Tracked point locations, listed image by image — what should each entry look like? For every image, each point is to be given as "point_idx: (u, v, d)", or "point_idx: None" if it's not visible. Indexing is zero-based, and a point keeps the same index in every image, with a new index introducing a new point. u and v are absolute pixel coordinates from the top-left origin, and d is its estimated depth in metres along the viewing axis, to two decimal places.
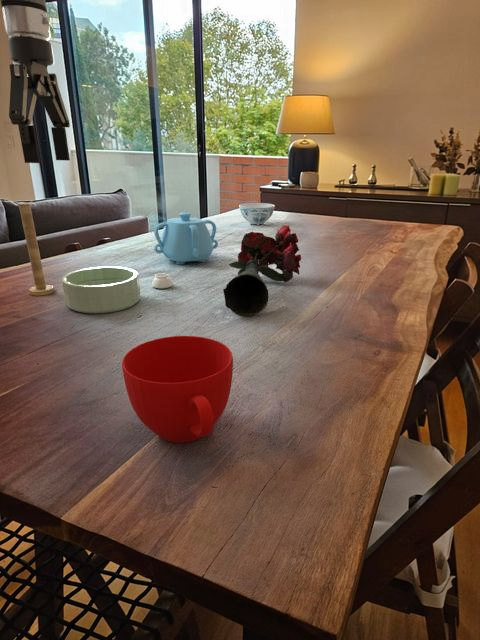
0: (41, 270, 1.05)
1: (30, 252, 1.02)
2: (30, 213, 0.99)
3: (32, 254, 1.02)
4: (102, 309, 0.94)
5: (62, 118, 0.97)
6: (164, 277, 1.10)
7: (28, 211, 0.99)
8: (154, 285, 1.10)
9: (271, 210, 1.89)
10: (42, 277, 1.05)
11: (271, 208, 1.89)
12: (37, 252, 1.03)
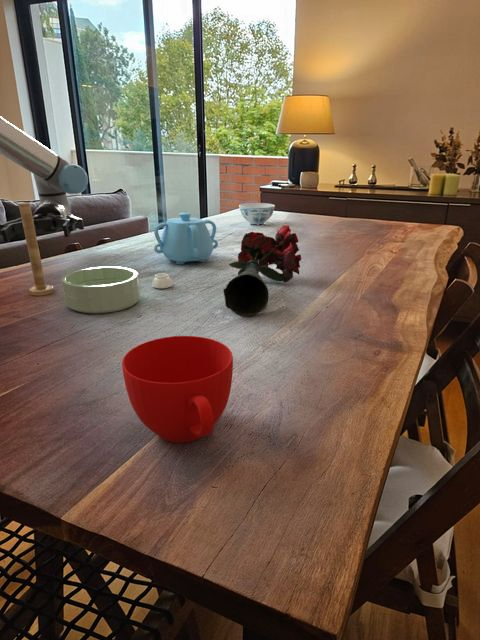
0: (41, 270, 1.05)
1: (30, 252, 1.02)
2: (30, 213, 0.99)
3: (32, 254, 1.02)
4: (102, 309, 0.94)
5: None
6: (164, 277, 1.10)
7: (28, 211, 0.99)
8: (154, 285, 1.10)
9: (271, 210, 1.89)
10: (42, 277, 1.05)
11: (271, 208, 1.89)
12: (37, 252, 1.03)
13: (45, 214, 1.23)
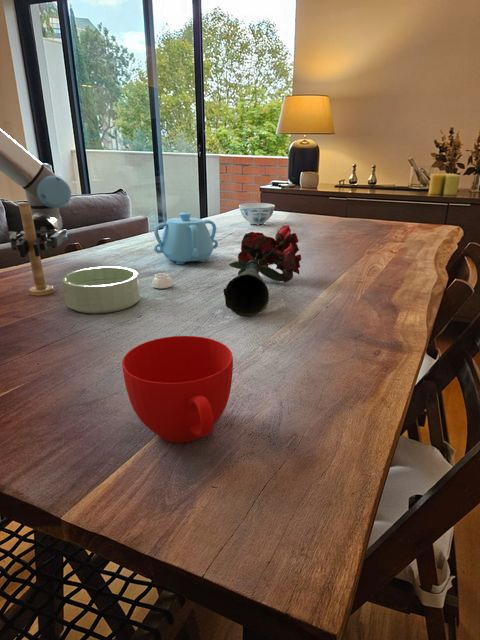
0: (41, 270, 1.05)
1: (30, 252, 1.02)
2: (30, 213, 0.99)
3: (32, 254, 1.02)
4: (102, 309, 0.94)
5: None
6: (164, 277, 1.10)
7: (28, 211, 0.99)
8: (154, 285, 1.10)
9: (271, 210, 1.89)
10: (42, 277, 1.05)
11: (271, 208, 1.89)
12: None
13: (37, 227, 1.14)
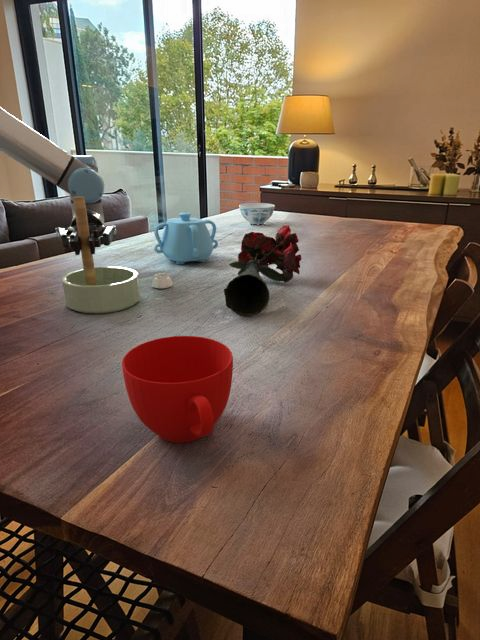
0: (93, 269, 0.97)
1: (83, 250, 0.95)
2: (84, 207, 0.92)
3: (85, 252, 0.95)
4: (102, 309, 0.94)
5: None
6: (164, 277, 1.10)
7: (83, 205, 0.91)
8: (154, 285, 1.10)
9: (271, 210, 1.89)
10: (94, 276, 0.98)
11: (271, 208, 1.89)
12: None
13: None
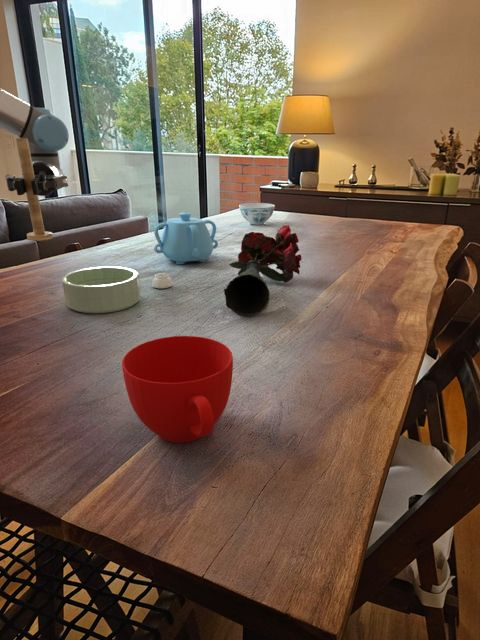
0: (39, 213, 0.98)
1: (28, 193, 0.96)
2: (28, 149, 0.93)
3: (30, 195, 0.96)
4: (102, 309, 0.94)
5: None
6: (164, 277, 1.10)
7: (26, 146, 0.92)
8: (154, 285, 1.10)
9: (271, 210, 1.89)
10: (41, 221, 0.99)
11: (271, 208, 1.89)
12: None
13: (36, 173, 1.07)
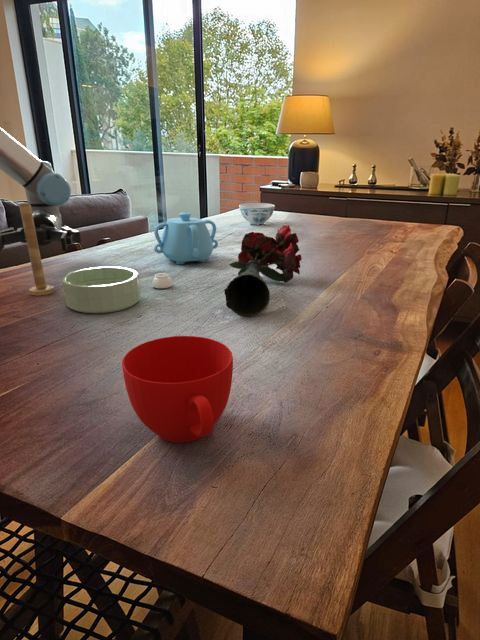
0: (41, 270, 1.05)
1: (31, 252, 1.02)
2: (30, 213, 0.99)
3: (32, 254, 1.02)
4: (102, 309, 0.94)
5: None
6: (164, 277, 1.10)
7: (29, 211, 0.99)
8: (154, 285, 1.10)
9: (271, 210, 1.89)
10: (42, 277, 1.05)
11: (271, 208, 1.89)
12: (37, 252, 1.03)
13: (37, 225, 1.14)
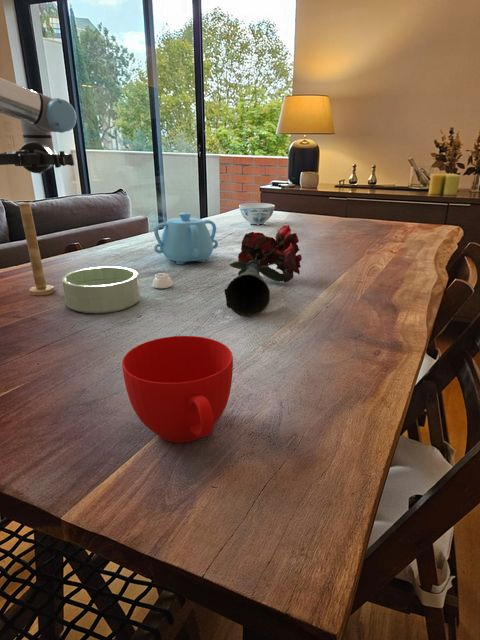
0: (41, 270, 1.05)
1: (31, 252, 1.02)
2: (30, 213, 0.99)
3: (32, 254, 1.02)
4: (102, 309, 0.94)
5: None
6: (164, 277, 1.10)
7: (29, 211, 0.99)
8: (154, 285, 1.10)
9: (271, 210, 1.89)
10: (42, 277, 1.05)
11: (271, 208, 1.89)
12: (37, 252, 1.03)
13: (31, 152, 1.18)
